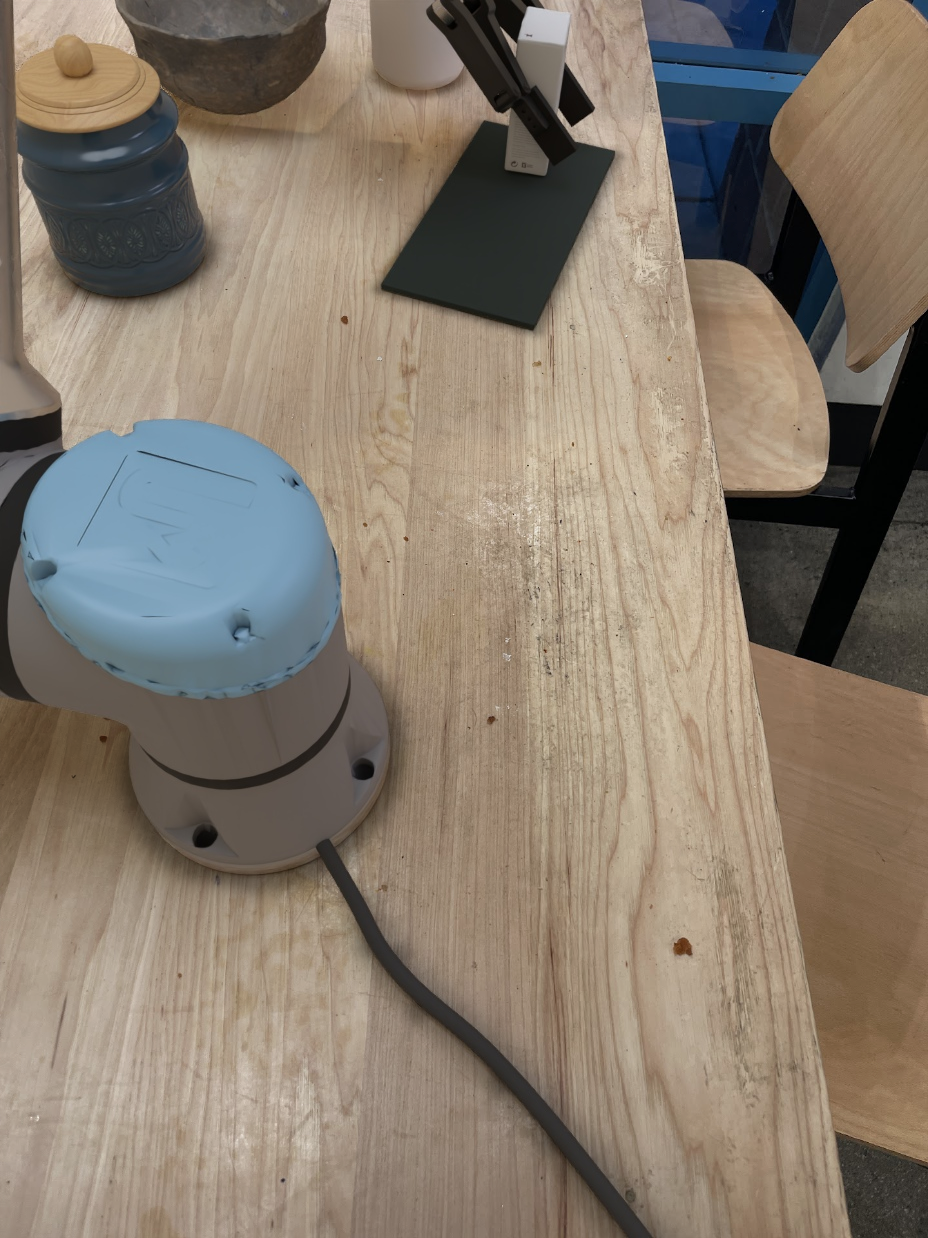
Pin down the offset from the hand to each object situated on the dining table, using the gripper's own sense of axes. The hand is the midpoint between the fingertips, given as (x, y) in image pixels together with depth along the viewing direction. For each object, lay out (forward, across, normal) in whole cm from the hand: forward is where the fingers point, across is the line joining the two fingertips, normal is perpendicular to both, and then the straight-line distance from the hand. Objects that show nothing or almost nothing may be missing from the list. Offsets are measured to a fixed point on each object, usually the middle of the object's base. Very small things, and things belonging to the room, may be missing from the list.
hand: (574, 136), depth 84 cm
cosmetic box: (-1, 0, -5) cm, 5 cm away
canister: (-21, +26, -26) cm, 42 cm away
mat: (0, +9, -5) cm, 11 cm away
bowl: (-23, -2, -28) cm, 36 cm away
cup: (-11, -13, -17) cm, 24 cm away
